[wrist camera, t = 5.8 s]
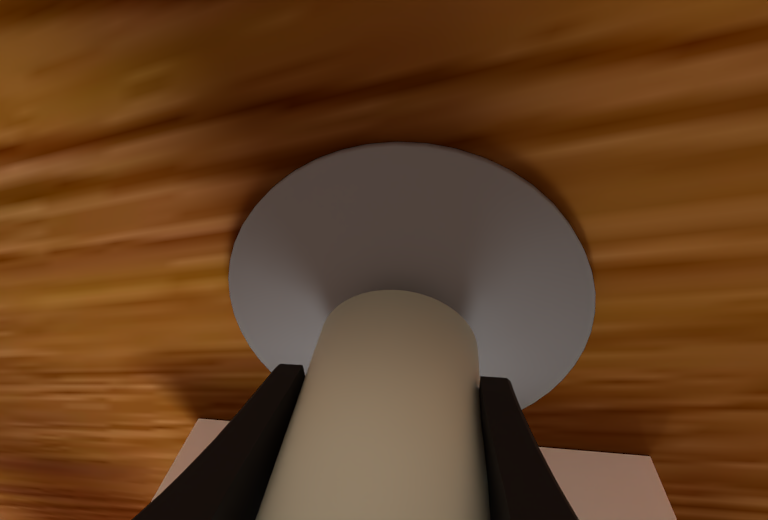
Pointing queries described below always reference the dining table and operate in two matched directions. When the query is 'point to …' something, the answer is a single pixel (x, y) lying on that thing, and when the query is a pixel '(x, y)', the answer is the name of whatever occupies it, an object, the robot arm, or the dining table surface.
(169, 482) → the divider wall
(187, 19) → the dining table surface
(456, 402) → the sage cylinder
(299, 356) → the rubber mat
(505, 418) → the robot arm
